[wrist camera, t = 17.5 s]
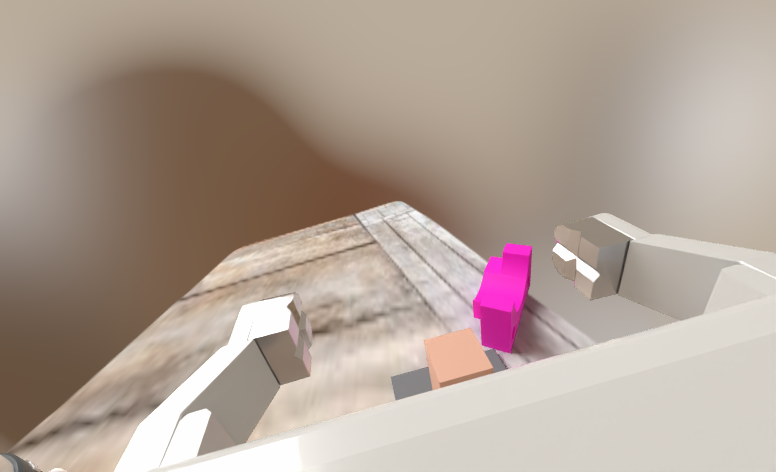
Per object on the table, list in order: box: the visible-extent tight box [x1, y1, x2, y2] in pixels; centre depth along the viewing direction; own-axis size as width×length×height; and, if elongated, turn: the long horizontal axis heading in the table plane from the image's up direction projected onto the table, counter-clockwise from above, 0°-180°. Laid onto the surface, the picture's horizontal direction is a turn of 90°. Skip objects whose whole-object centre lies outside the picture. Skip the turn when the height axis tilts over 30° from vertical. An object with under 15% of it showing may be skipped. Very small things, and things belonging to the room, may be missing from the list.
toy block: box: [473, 243, 532, 353], centre depth 46 cm, size 15×6×8 cm, turn 150°
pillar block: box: [424, 328, 493, 390], centre depth 32 cm, size 5×5×10 cm
